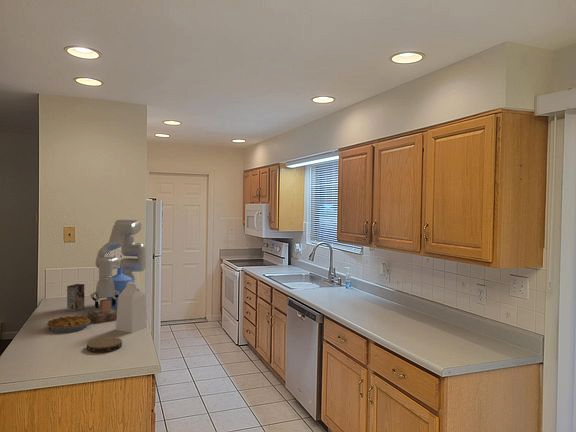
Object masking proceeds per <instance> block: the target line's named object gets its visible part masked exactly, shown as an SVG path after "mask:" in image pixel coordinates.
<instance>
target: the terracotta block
mask: <svg viewBox="0 0 576 432" xmlns="http://www.w3.org/2000/svg"><path fill="white" fill-rule="evenodd" d="M99 310H100V312H102V313H106V312H111V300H109V299H107V298H102V299H99Z"/></svg>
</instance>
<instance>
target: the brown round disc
mask: <svg viewBox="0 0 576 432" xmlns="http://www.w3.org/2000/svg"><path fill="white" fill-rule="evenodd" d="M122 340H123V339H121V338H119V337H115V336H114V337H112V336H109V337H108V336H105V337H98V338H93V339H91V340H89V341H88V342H87V343H86V351H87V352H90V353H92V354H104V353H112V352H115V351H116V352H117V351H118V350H119V349H122V346H123V345H122V344H123V341H122Z"/></svg>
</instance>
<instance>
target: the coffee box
mask: <svg viewBox="0 0 576 432" xmlns="http://www.w3.org/2000/svg"><path fill="white" fill-rule="evenodd" d="M84 308H85V284H82V283H75V284H71V285H67V286H66V310H67V311H69V312H78V311H80V310H82V309H84Z"/></svg>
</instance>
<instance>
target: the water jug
mask: <svg viewBox="0 0 576 432" xmlns="http://www.w3.org/2000/svg"><path fill="white" fill-rule="evenodd" d="M116 272H117V273H116V274H115V275H113V276H114V277H115V278H113V282H114V289H115V290H117V291H119V292H120V294H121V292H122V291H123V290H124V289H125V288H126V285H127V283H129V282H130V283H132V278H130V277H128V276H126V275H123V274H122V268H120V267H118V268H116ZM116 294H117V293H116V292H115V295H116ZM120 294H119V295H120ZM115 295H114V296H115ZM118 297H119V296H118ZM118 297H117V298H116V304H115V306H113V305H112V299H113V298H112V297H108V298H106V299H109V300H111V309H112V308H115V309H117V304H118Z"/></svg>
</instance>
